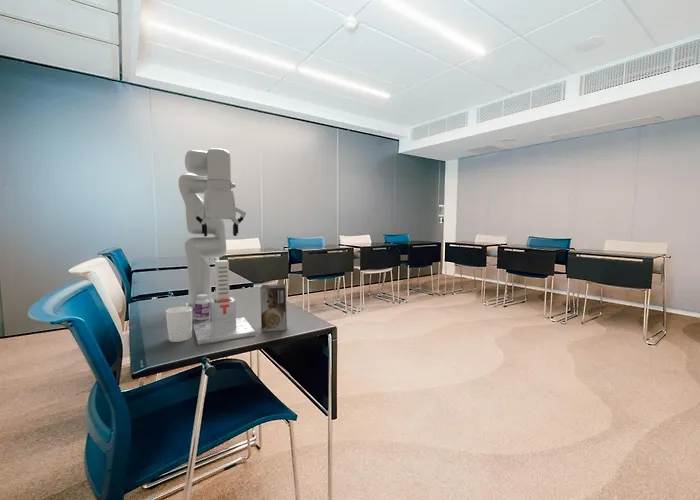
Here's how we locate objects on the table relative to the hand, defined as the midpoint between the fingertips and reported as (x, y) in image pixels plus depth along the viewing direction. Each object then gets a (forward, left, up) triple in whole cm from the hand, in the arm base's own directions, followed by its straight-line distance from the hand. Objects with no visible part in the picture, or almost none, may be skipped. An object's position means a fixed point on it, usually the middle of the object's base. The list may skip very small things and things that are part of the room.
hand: (220, 235), depth 112 cm
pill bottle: (-19, -5, -35) cm, 40 cm away
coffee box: (+6, +17, -35) cm, 39 cm away
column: (+1, 0, -27) cm, 27 cm away
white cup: (+1, -13, -35) cm, 37 cm away
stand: (+1, 0, -34) cm, 34 cm away
